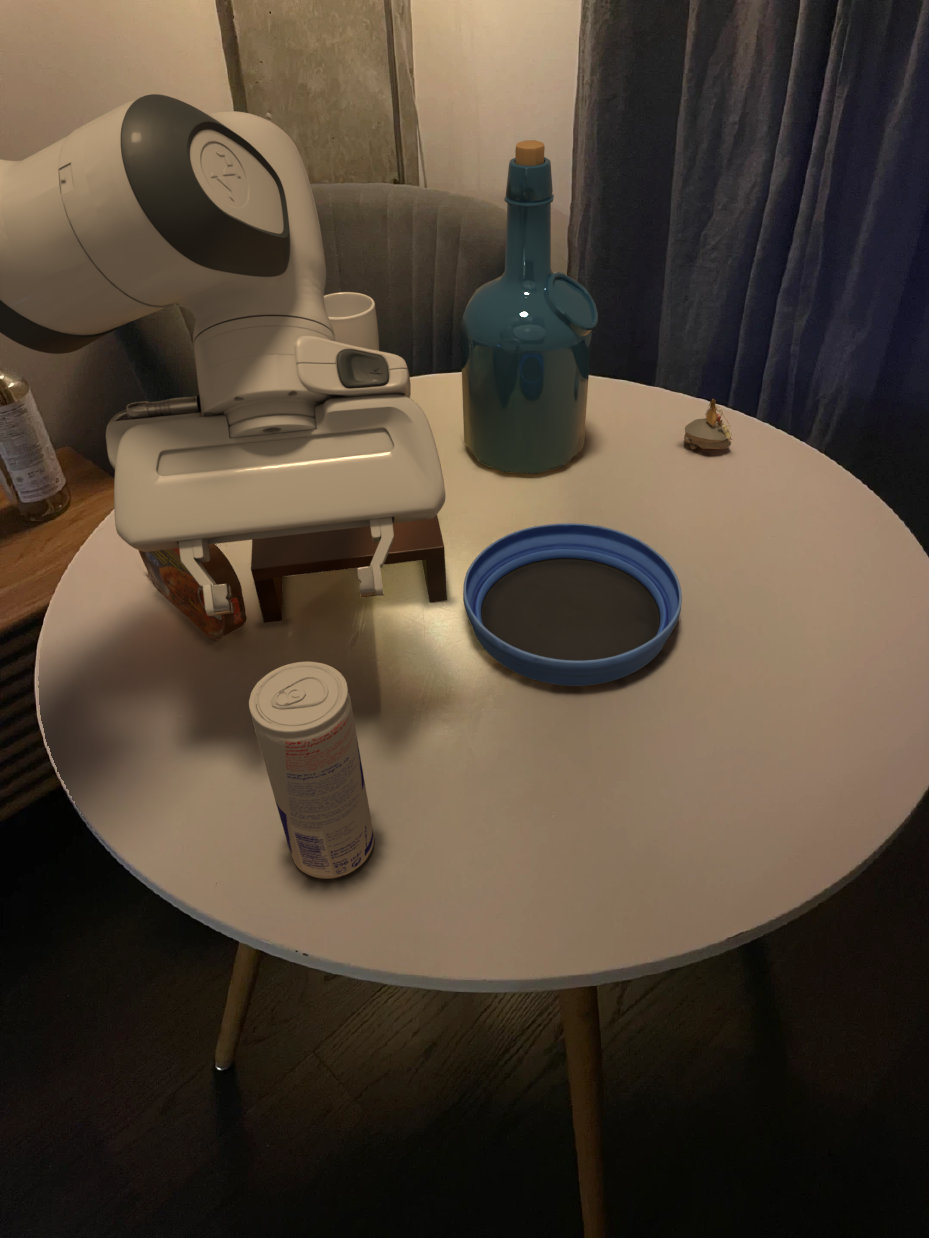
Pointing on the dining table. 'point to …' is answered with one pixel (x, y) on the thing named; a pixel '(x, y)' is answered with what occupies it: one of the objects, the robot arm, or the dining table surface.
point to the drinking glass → (353, 319)
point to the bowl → (571, 603)
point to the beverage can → (314, 766)
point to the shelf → (343, 558)
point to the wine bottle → (527, 340)
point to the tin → (197, 588)
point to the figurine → (708, 431)
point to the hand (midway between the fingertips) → (297, 605)
